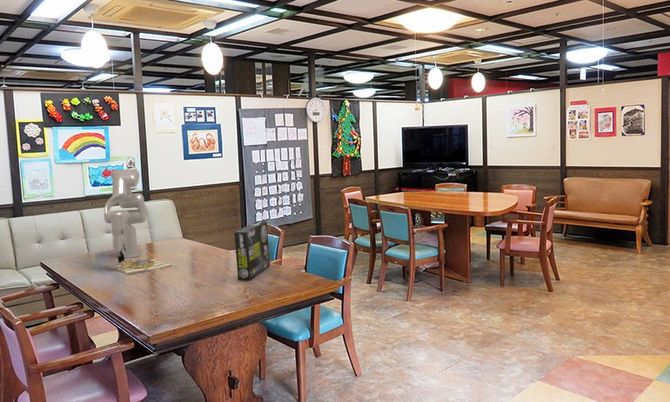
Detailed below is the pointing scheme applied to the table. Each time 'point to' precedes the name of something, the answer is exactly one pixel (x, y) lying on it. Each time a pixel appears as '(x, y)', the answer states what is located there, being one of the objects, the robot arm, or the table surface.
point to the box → (252, 250)
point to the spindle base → (131, 271)
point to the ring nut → (135, 264)
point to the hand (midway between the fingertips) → (121, 262)
